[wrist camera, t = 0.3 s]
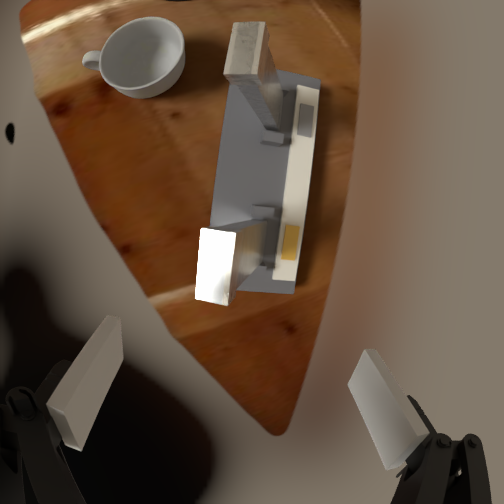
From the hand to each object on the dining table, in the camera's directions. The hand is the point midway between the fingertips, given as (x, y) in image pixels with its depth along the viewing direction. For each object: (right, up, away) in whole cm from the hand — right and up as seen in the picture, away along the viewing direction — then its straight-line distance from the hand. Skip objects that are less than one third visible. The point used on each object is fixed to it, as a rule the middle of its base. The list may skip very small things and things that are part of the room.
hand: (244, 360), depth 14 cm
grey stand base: (+2, +16, +24) cm, 28 cm away
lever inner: (+3, +23, +18) cm, 29 cm away
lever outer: (+1, +7, +21) cm, 22 cm away
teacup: (-15, +31, +18) cm, 39 cm away
